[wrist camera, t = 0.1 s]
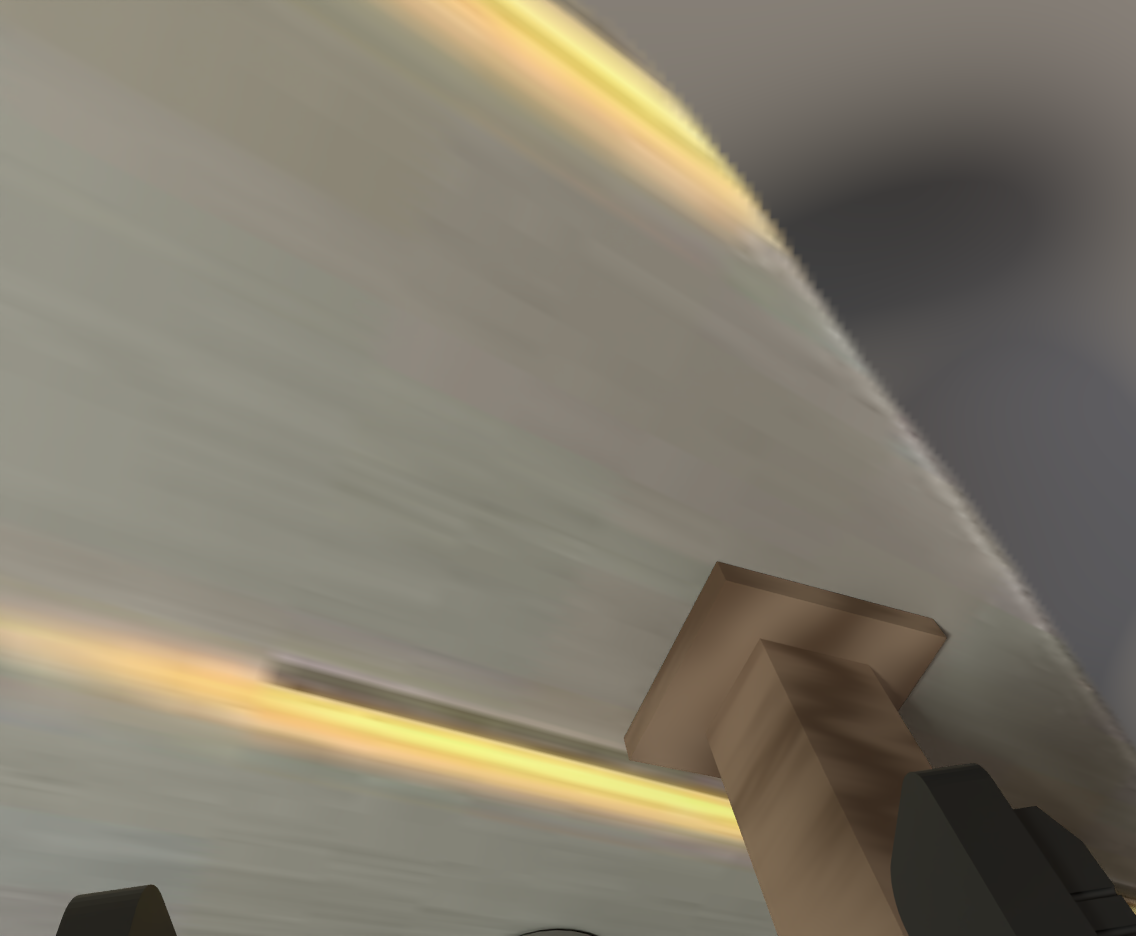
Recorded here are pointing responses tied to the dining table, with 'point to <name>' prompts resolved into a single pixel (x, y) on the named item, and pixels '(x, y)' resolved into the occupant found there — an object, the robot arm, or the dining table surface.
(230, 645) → the dining table surface
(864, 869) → the wooden pedestal stand
